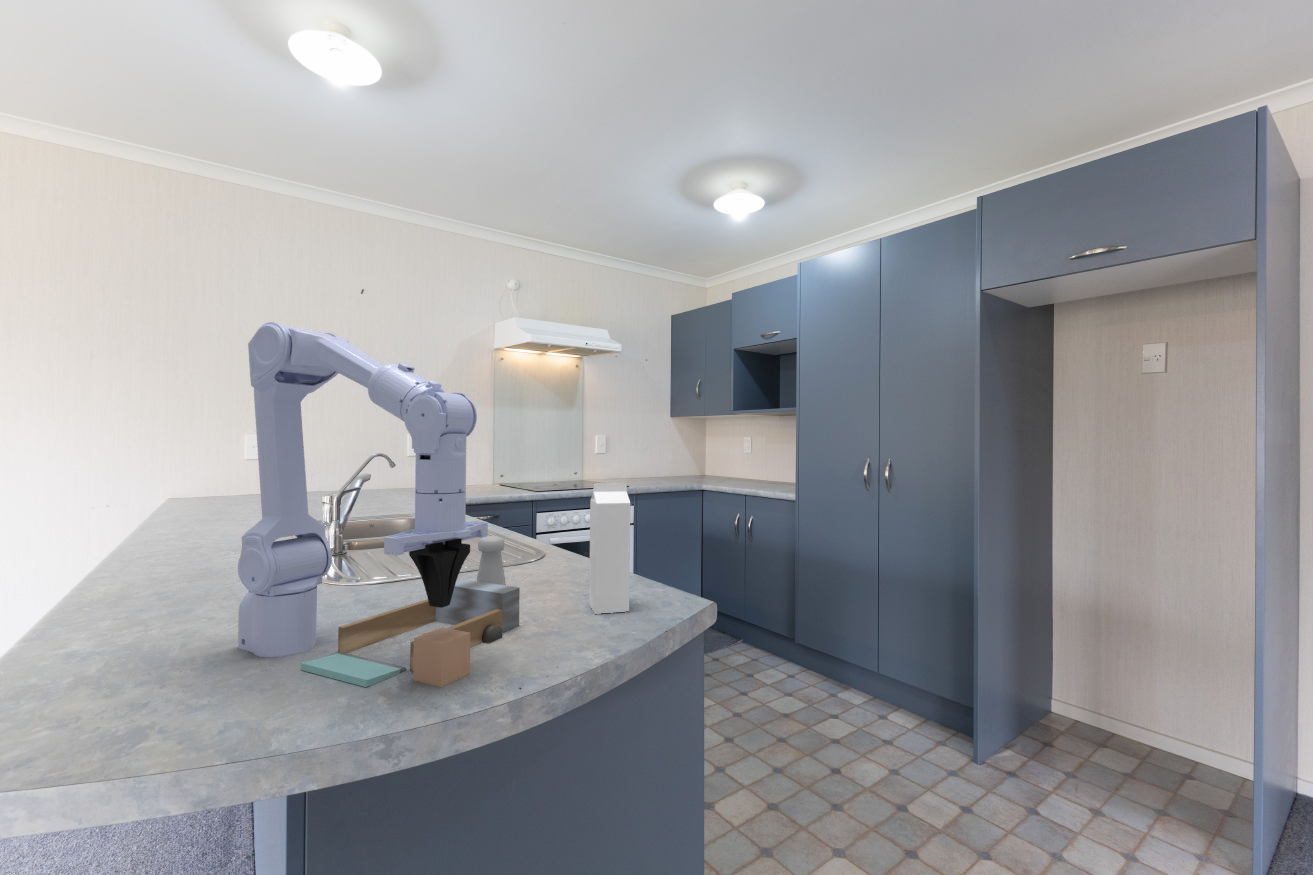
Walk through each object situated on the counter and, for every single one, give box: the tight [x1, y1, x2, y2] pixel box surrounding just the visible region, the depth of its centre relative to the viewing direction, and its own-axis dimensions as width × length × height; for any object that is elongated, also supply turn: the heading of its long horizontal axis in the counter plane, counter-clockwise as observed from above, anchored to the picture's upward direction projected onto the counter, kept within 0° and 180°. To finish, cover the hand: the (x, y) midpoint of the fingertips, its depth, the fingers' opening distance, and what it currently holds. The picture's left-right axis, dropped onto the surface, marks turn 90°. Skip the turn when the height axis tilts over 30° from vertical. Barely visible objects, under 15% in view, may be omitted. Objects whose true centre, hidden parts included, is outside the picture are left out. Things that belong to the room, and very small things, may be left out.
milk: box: [588, 482, 631, 615], centre depth 104 cm, size 6×6×22 cm
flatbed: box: [337, 578, 521, 672], centre depth 85 cm, size 16×20×7 cm
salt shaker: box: [476, 535, 507, 586], centre depth 100 cm, size 6×6×13 cm
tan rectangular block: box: [412, 626, 471, 688], centre depth 71 cm, size 4×4×6 cm
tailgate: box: [300, 652, 407, 688], centre depth 73 cm, size 11×1×6 cm
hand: (439, 605), depth 71 cm, fingers closed
